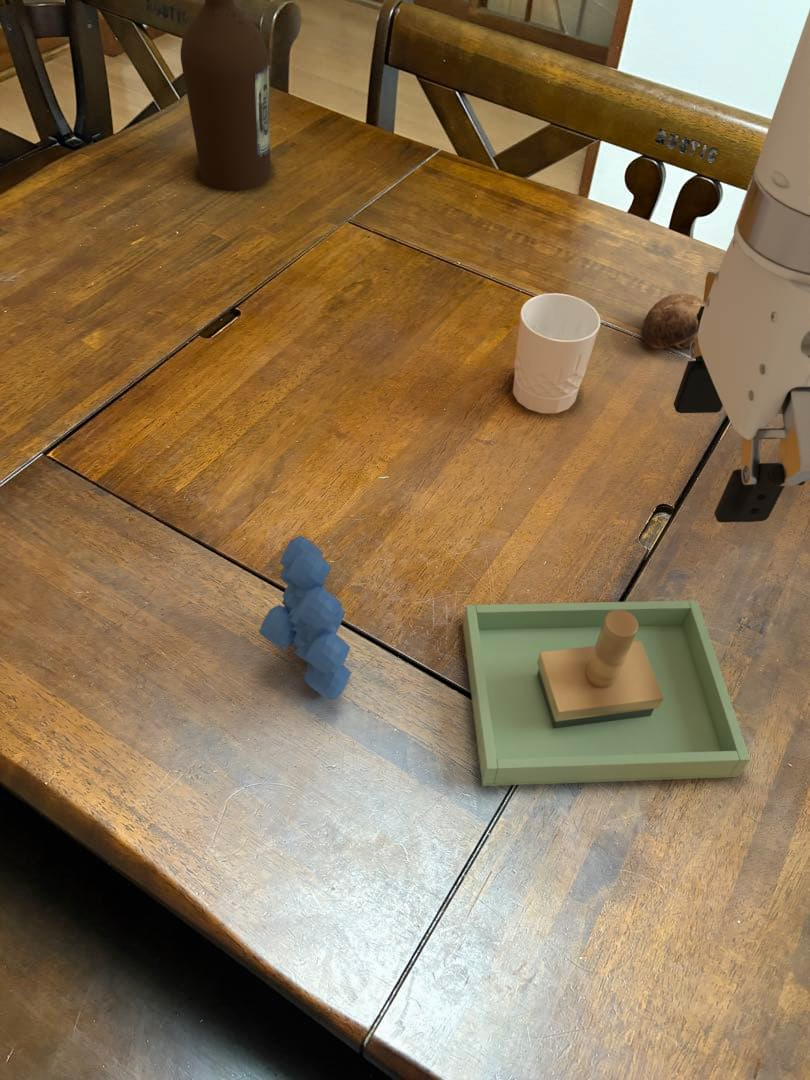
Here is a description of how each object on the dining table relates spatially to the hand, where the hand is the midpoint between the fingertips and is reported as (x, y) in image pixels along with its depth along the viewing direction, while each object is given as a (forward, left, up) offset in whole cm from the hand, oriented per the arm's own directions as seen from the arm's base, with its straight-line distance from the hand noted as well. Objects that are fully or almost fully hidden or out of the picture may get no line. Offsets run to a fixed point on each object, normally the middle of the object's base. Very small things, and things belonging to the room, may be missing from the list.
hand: (716, 461), depth 59 cm
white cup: (+2, -33, -23) cm, 41 cm away
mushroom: (-14, -42, -23) cm, 50 cm away
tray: (+4, +4, -23) cm, 24 cm away
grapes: (+27, 0, -23) cm, 36 cm away
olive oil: (+37, -78, -23) cm, 90 cm away
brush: (+4, +4, -23) cm, 23 cm away
